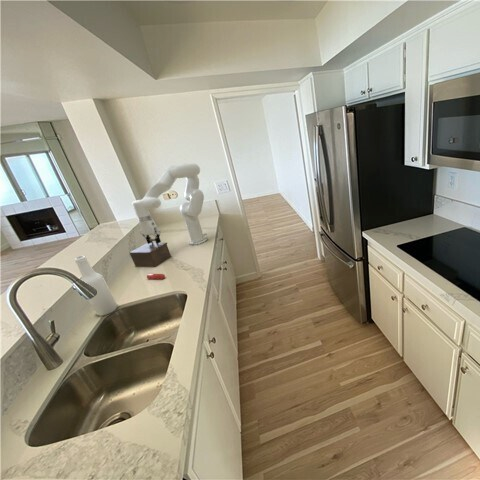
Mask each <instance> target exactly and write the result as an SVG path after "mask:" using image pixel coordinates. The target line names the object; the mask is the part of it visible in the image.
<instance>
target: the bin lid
mask: <svg viewBox="0 0 480 480" xmlns="http://www.w3.org/2000/svg"><path fill="white" fill-rule="evenodd" d="M149 240H150V241H151V243H149V244H148V243H147V242H146V243H145V244H142V245H141V246H139V247H137V248H135V249H133V250H131V251H129V255H130V254H150V253H152V252H154V251H155V250H157V249H159V248H161V247H162V246H164V245H166V244H167V245H168V242H160V243H158V244H157V243H156V240H155V237H153V238H152V237H150V239H149Z"/></svg>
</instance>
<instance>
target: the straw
mask: <svg viewBox="0 0 480 480" xmlns="http://www.w3.org/2000/svg"><path fill="white" fill-rule="evenodd" d="M146 278H147V279H148V280H164V279H165V278H166V275H165V273H148V274H147V275H146Z"/></svg>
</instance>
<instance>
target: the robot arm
mask: <svg viewBox="0 0 480 480" xmlns="http://www.w3.org/2000/svg"><path fill="white" fill-rule="evenodd" d="M200 173H201V168H200V166H199V165H198V164H197V163H183V164H180V165H179V164H178V165H169V166H167V167H166V169H165V170H164V172H163V173H162V175H160V177H159V179H158V180H157V182H155V184H154V185H152V186H151V187H150V188H149V189H148V190H147V192H146V193H145V194H144V196H143V197H142V199H137V200H134V201H132V203H131V205H132V207H133V210H134V212H135V215H136V217H137V220H138V224H139V227H140V234H141V235H142V236H143V237H144V239H145V240H146V244H147V243H148V244H149V243H151V241H150V240H149V239H150V238H151V236H153V238H155V240H156V241H155V243H157V244H158V243H162V241H161V238H160V236H161V233H162V232H161V230H159V228H158V225H157V223H156V222H155V220H154V219H153V217H152V215H151V213H150V210H155V209H158V208H160V207H161V206H162V205H161V204H162V202H161V200H160V199H159V197H160V196H161V195H163V194H164V193H166V192H168V191H169V190H171V189H172V187H173V185H174V184H175V182H176V181H177V179H184V178H185V179H186V184H185V188H184V189H185V190H184V199H185V200H186V201H189V202H183V203H182V204H181V205H180V207H179V212H180V214H181V216H182V218H183V221H184V223H185V226H186V229H187V233H188V235H189V238H190V241H189V245H191V246H195V245H200V244H203V243H205V242H206V241H207V239H208V238H207V237H206V236H207V235H208V233H207V232H204V233H203V230H202V225H201V224H200V219H199V217H198V216H200V214H201V212H202V210H203V204H204V200H205V196H204V193H203V191H202V190H201V189H200V188H199V187H200V178H199V176H198V175H199V174H200Z"/></svg>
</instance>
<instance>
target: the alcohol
mask: <svg viewBox="0 0 480 480" xmlns="http://www.w3.org/2000/svg"><path fill="white" fill-rule="evenodd" d="M87 259H88V258H87V257H86V256H85V255H80V256H77V257H75V258H74V261H75V263H76V266H77V268H78V270H79V273H80V275H81V279H80V280H82V281H84V282H85V283H87V284H89V285H91V286H92V287H94V288H95V289H96V290H97V295H96V296H95V297H94V298H93V299H91V300H88V302H89V304H90V306H91V307H92V309H93V311H94V312H95V314H96V315H97V316H99V317H100V316H101V317H103V316H107V315H108V314H109V315H110V314H111V313H113V312H114V311H115V310H116V309H117V308H118V302H117V301H116V299H115V297H114V295H113V293H112V291H111V289H110V287H109V285H108V284H107V281H106V280H105V277H104V276H103V275H102V274H101V273H99V272H96V271H95V270H94V268H93V267H92V266H91V264H90V263H89V261H88V260H87Z"/></svg>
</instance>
